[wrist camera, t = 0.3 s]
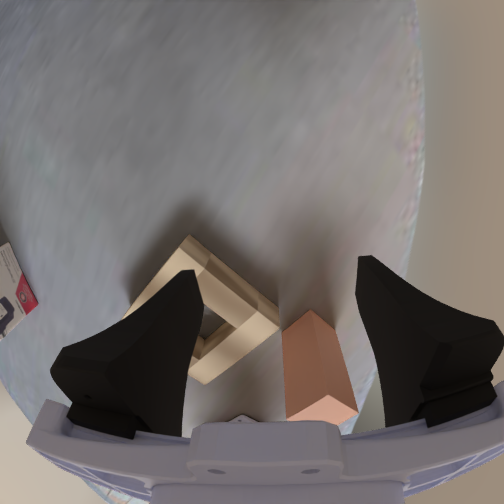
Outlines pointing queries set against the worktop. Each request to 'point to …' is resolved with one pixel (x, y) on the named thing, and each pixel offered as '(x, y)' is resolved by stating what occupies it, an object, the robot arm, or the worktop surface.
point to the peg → (315, 373)
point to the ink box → (13, 292)
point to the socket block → (218, 309)
